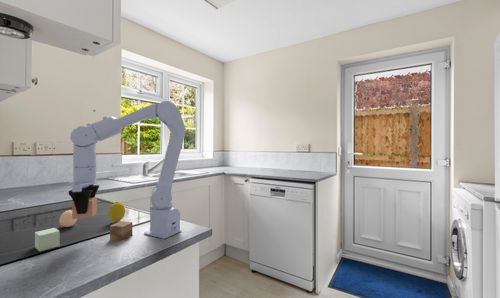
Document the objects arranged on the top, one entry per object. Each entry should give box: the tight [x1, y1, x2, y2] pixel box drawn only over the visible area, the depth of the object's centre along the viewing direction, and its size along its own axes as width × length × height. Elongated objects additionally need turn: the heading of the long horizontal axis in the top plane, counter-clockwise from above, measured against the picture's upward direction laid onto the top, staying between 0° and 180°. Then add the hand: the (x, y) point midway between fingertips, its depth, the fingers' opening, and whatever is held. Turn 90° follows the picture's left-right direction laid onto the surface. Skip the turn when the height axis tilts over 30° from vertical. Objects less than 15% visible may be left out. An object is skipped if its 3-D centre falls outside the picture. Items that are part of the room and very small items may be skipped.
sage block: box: [34, 227, 61, 252], centre depth 69 cm, size 4×4×4 cm
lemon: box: [108, 201, 126, 223], centre depth 90 cm, size 6×6×8 cm
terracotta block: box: [71, 196, 98, 220], centre depth 72 cm, size 5×5×5 cm
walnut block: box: [109, 220, 133, 242], centre depth 76 cm, size 4×4×4 cm
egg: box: [59, 209, 78, 228], centre depth 85 cm, size 5×5×6 cm
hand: (85, 211), depth 72 cm, fingers closed on terracotta block, 5 cm apart
